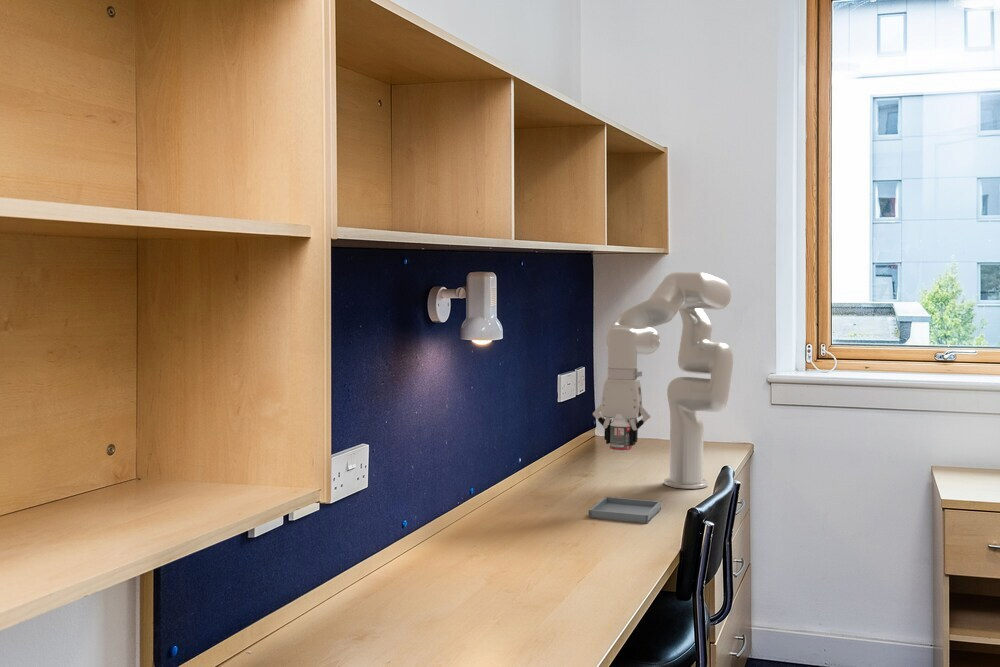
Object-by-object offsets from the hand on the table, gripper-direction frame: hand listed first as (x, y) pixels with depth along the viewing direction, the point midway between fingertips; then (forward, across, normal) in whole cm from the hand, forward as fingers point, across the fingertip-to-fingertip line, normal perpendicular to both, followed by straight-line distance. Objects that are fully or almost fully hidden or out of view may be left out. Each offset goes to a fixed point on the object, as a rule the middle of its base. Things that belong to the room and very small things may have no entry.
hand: (620, 443), depth 253 cm
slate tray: (+17, -3, +4) cm, 18 cm away
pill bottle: (+2, 0, 0) cm, 2 cm away
